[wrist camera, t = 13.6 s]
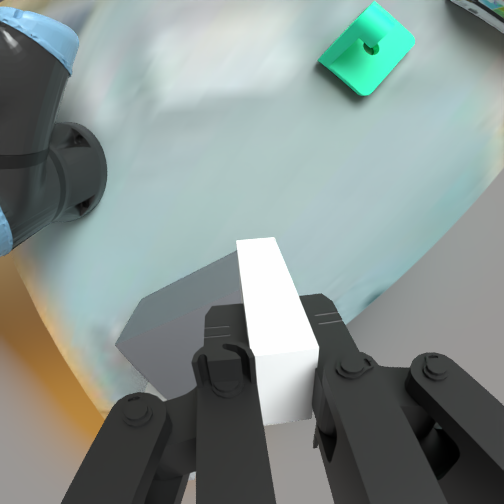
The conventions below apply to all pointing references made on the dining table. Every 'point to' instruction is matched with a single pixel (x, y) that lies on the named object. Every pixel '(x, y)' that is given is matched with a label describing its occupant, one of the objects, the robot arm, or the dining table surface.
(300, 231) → the dining table surface
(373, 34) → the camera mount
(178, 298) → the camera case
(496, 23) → the tea box
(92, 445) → the robot arm
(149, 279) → the dining table surface
